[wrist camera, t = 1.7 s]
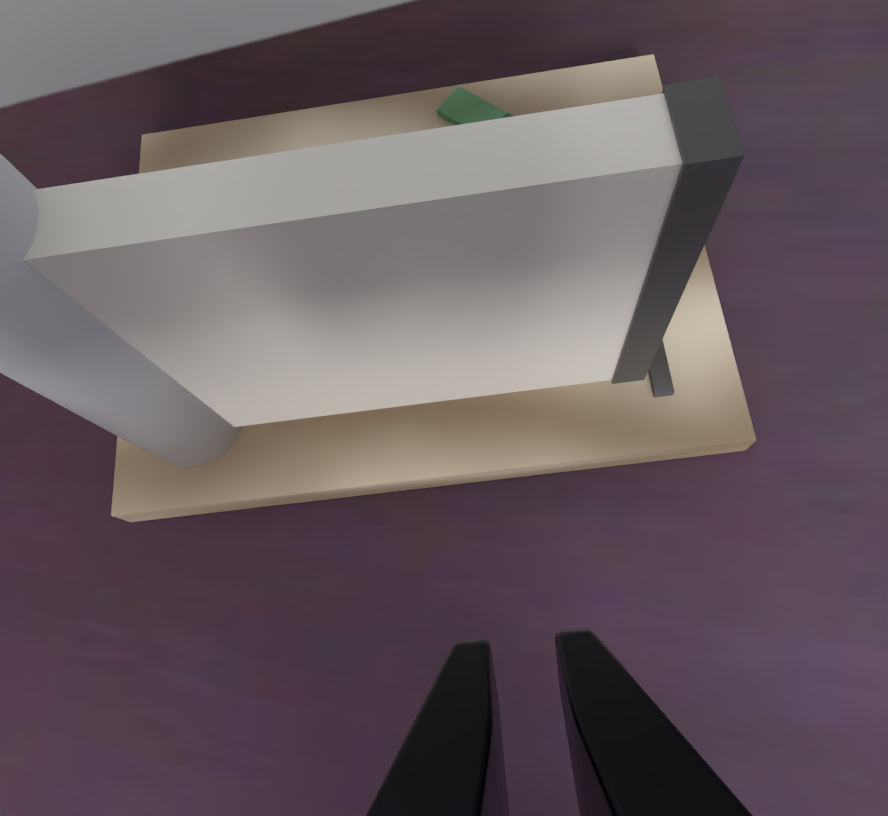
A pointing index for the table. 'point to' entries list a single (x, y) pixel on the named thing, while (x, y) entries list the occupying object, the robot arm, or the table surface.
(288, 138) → the board
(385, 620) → the table surface
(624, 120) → the white panel grey edge
